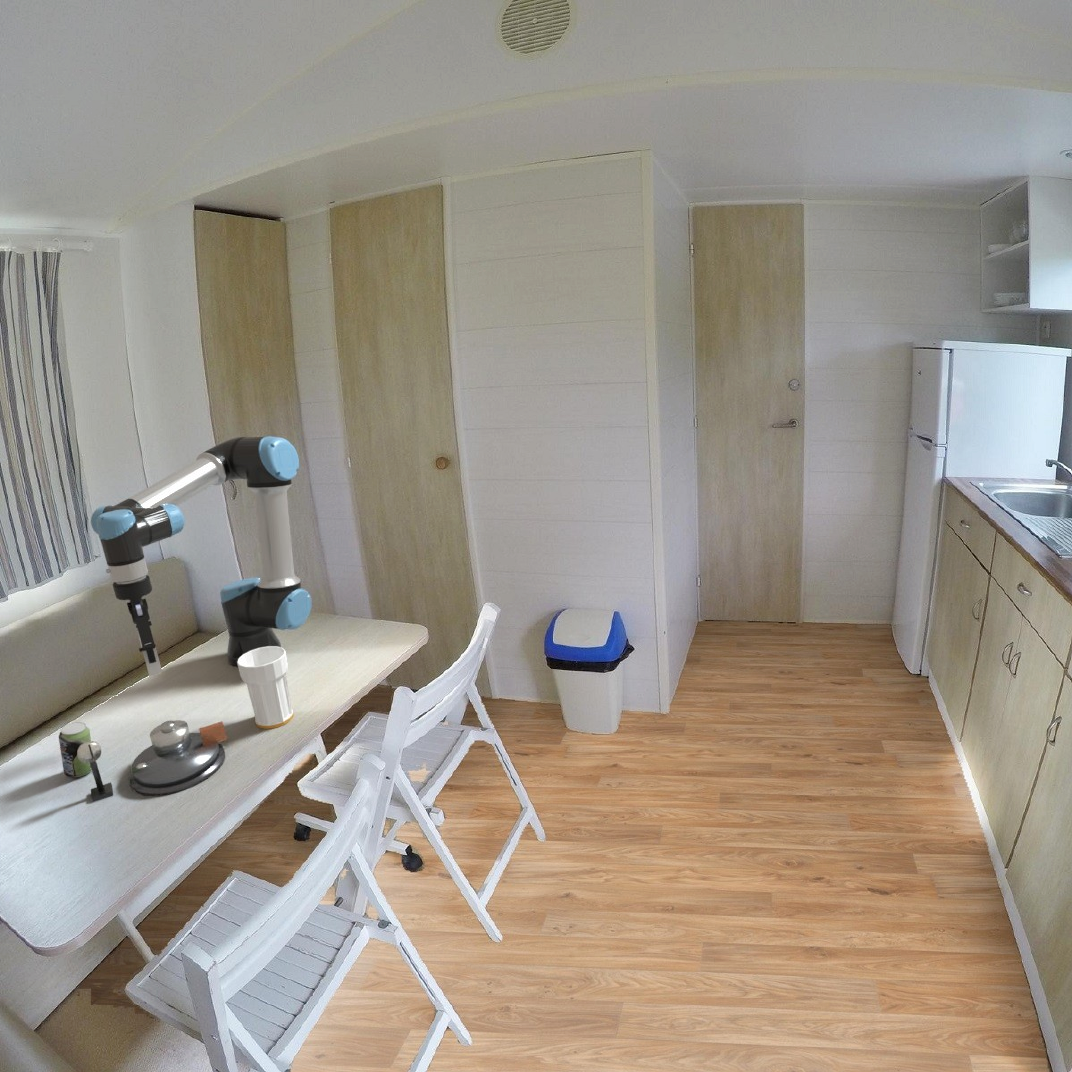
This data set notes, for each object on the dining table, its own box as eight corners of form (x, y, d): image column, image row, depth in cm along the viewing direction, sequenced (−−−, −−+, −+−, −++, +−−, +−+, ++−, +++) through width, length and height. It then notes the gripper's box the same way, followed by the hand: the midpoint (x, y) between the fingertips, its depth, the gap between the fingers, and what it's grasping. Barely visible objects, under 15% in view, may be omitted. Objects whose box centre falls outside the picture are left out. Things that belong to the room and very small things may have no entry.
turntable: (130, 759, 177) (124, 735, 175) (221, 729, 187) (216, 706, 185) (137, 798, 162) (129, 773, 160) (235, 764, 172) (229, 739, 170)
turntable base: (127, 763, 178) (126, 759, 178) (217, 733, 187) (216, 730, 187) (133, 807, 161) (132, 803, 161) (232, 772, 171) (231, 768, 170)
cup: (241, 728, 189) (226, 664, 184) (271, 704, 199) (258, 643, 193) (278, 734, 185) (264, 669, 179) (307, 710, 195) (295, 648, 189)
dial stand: (90, 793, 168) (74, 740, 164) (113, 785, 170) (97, 733, 166) (91, 802, 164) (74, 749, 160) (114, 794, 166) (98, 742, 162)
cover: (152, 743, 179) (146, 722, 177) (188, 731, 183) (183, 711, 181) (155, 759, 172) (149, 737, 171) (193, 746, 176) (188, 725, 174)
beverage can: (73, 766, 179) (59, 721, 175) (105, 762, 179) (92, 717, 176) (59, 782, 173) (45, 736, 169) (93, 778, 173) (79, 732, 170)
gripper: (108, 568, 182) (130, 650, 188) (115, 598, 161) (139, 689, 168) (143, 561, 185) (163, 641, 192) (154, 589, 165) (176, 678, 171)
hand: (152, 663), depth 180 cm, fingers open, 13 cm apart
